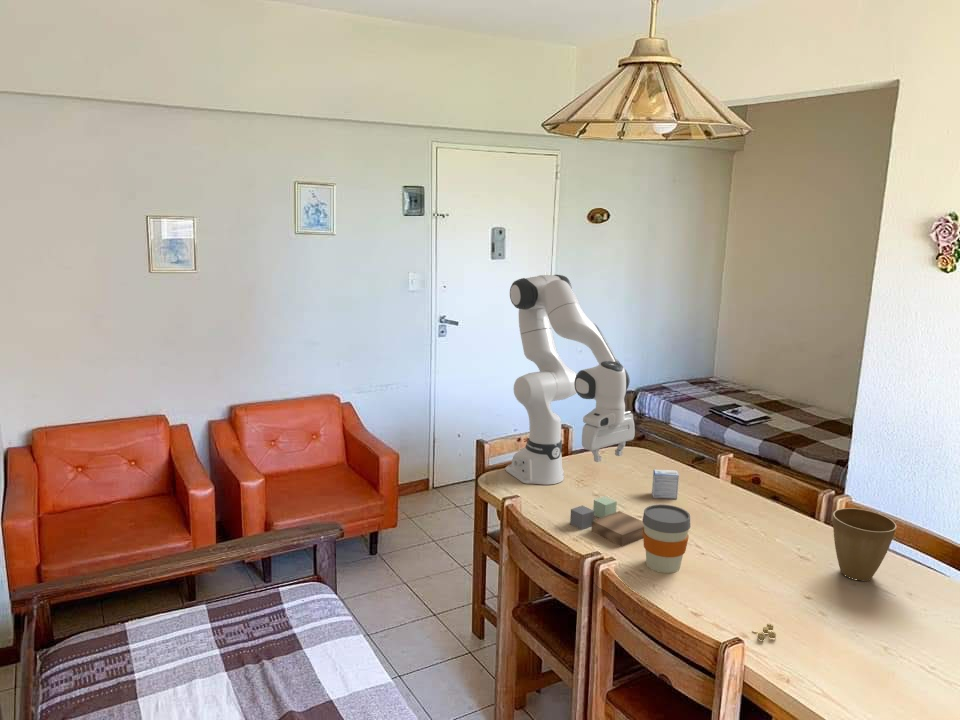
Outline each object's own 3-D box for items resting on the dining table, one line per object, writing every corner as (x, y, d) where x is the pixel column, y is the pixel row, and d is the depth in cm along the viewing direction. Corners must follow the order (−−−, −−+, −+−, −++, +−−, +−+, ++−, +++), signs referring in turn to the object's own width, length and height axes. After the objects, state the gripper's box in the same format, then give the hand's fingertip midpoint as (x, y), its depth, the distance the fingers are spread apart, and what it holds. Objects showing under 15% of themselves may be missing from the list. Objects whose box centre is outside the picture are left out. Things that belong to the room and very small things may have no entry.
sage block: (593, 514, 233) (593, 499, 232) (604, 511, 236) (604, 496, 235) (604, 520, 229) (605, 505, 228) (615, 516, 232) (616, 501, 231)
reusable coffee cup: (688, 558, 205) (692, 508, 202) (685, 579, 193) (689, 526, 190) (642, 551, 209) (646, 501, 206) (636, 571, 197) (640, 519, 194)
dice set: (771, 631, 172) (772, 623, 171) (780, 643, 167) (781, 636, 166) (749, 631, 172) (750, 623, 171) (758, 643, 167) (758, 636, 166)
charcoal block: (570, 524, 225) (570, 509, 224) (581, 520, 228) (582, 505, 227) (581, 530, 222) (582, 514, 220) (593, 526, 225) (594, 510, 223)
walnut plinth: (591, 533, 221) (591, 520, 220) (618, 523, 228) (619, 511, 227) (621, 548, 211) (622, 535, 210) (649, 537, 218) (650, 524, 218)
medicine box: (675, 494, 250) (677, 470, 248) (677, 499, 246) (679, 474, 244) (651, 493, 251) (653, 468, 249) (653, 498, 246) (654, 473, 245)
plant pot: (864, 594, 187) (872, 535, 184) (814, 568, 200) (820, 513, 197) (900, 581, 194) (909, 524, 191) (850, 557, 207) (857, 503, 204)
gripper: (625, 407, 234) (623, 449, 237) (579, 418, 222) (577, 461, 225) (640, 412, 229) (638, 454, 232) (594, 422, 217) (592, 467, 220)
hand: (608, 458), depth 228 cm, fingers open, 8 cm apart
